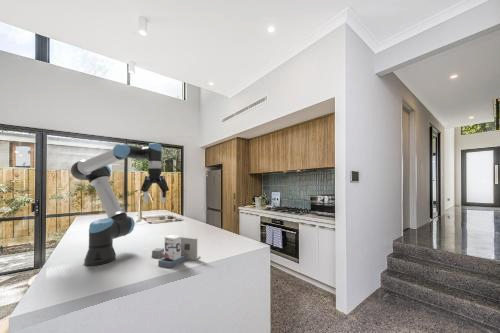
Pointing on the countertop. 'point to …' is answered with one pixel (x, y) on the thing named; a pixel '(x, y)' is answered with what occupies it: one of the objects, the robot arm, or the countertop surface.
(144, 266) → the countertop surface
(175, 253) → the ink box
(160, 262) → the dock
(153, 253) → the brick
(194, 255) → the plate
